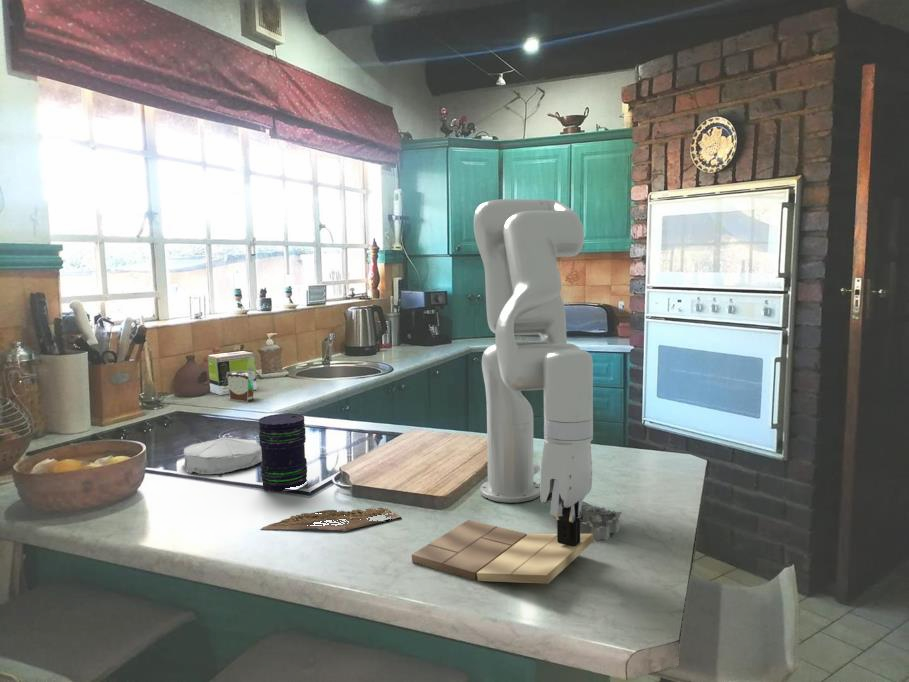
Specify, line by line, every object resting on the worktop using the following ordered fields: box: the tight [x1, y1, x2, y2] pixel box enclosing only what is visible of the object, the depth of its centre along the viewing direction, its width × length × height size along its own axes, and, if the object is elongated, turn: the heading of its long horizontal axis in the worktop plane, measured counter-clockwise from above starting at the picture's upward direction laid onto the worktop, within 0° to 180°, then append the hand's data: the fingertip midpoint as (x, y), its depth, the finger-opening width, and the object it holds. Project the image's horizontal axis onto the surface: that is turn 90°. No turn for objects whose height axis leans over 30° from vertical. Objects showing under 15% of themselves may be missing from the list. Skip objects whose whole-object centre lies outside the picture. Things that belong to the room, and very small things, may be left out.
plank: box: [476, 533, 595, 585], centre depth 104 cm, size 17×12×1 cm
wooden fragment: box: [260, 507, 401, 532], centre depth 125 cm, size 26×11×1 cm, turn 97°
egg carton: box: [577, 501, 623, 540], centre depth 120 cm, size 11×8×4 cm
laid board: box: [411, 519, 528, 581], centre depth 111 cm, size 17×12×1 cm
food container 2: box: [226, 371, 255, 403], centre depth 241 cm, size 12×6×10 cm, turn 58°
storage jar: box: [258, 413, 308, 493], centre depth 146 cm, size 10×10×15 cm
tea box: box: [207, 350, 258, 396], centre depth 257 cm, size 15×10×15 cm, turn 130°
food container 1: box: [181, 437, 262, 475], centre depth 164 cm, size 20×20×7 cm
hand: (568, 542), depth 105 cm, fingers closed
